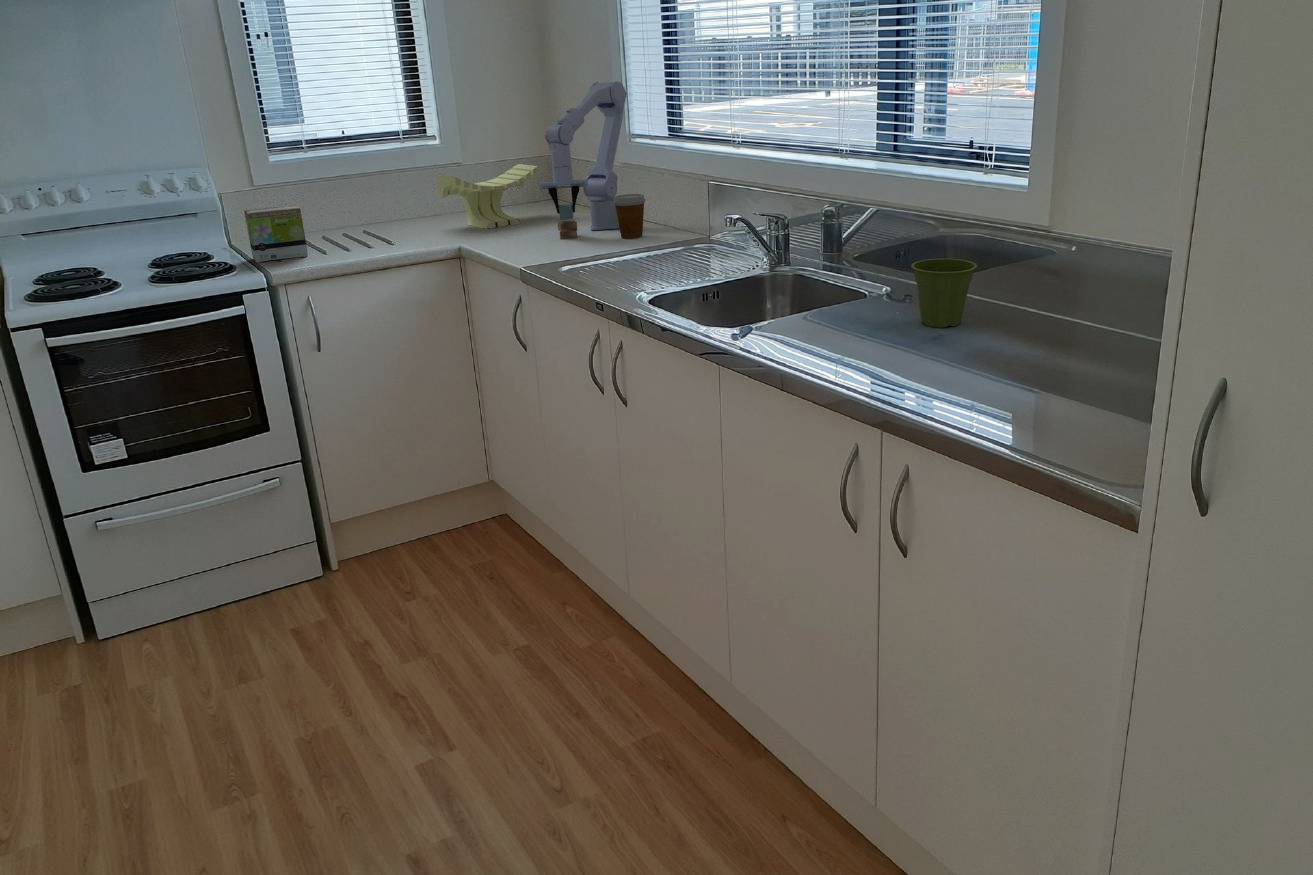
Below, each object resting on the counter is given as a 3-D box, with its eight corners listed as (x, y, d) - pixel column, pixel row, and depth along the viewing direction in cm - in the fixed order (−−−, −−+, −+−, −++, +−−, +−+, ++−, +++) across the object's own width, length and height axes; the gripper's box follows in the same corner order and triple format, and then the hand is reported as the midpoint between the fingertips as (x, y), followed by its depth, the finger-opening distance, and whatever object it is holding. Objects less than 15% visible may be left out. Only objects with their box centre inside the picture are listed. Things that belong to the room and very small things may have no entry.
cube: (573, 217, 308) (572, 203, 307) (573, 219, 304) (572, 205, 303) (560, 218, 308) (558, 204, 307) (560, 220, 304) (558, 206, 303)
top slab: (573, 228, 311) (573, 219, 310) (577, 230, 306) (576, 222, 305) (557, 229, 309) (557, 221, 309) (561, 232, 305) (560, 223, 304)
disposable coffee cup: (610, 240, 300) (607, 198, 295) (623, 234, 308) (620, 193, 303) (640, 240, 296) (637, 198, 292) (652, 234, 304) (650, 193, 300)
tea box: (257, 263, 299) (246, 213, 294) (252, 258, 308) (242, 209, 302) (309, 256, 305) (300, 206, 300) (303, 251, 314) (294, 203, 308)
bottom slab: (577, 236, 311) (576, 228, 310) (577, 239, 306) (576, 230, 306) (560, 237, 311) (560, 229, 310) (560, 240, 306) (559, 232, 305)
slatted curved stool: (520, 215, 357) (514, 163, 350) (542, 219, 344) (537, 166, 338) (441, 228, 341) (434, 173, 335) (462, 233, 329) (454, 176, 322)
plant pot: (911, 332, 188) (913, 272, 184) (907, 316, 199) (909, 259, 195) (977, 331, 186) (981, 270, 182) (970, 315, 197) (973, 257, 193)
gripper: (536, 169, 297) (541, 216, 302) (586, 166, 298) (590, 212, 302) (537, 167, 303) (542, 212, 308) (586, 163, 304) (590, 209, 309)
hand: (566, 212), depth 306 cm, fingers closed on cube, 4 cm apart
